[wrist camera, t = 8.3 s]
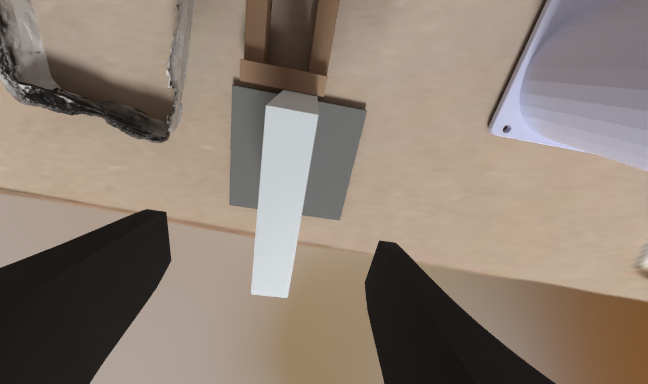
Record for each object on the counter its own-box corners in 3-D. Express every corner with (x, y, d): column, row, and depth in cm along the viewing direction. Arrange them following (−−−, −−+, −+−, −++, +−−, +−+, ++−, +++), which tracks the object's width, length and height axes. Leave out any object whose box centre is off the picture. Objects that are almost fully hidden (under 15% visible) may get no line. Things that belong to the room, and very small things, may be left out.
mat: (365, 109, 16) (366, 110, 16) (339, 217, 20) (339, 220, 19) (234, 84, 15) (232, 85, 15) (231, 202, 19) (229, 205, 18)
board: (317, 93, 15) (318, 115, 9) (296, 220, 19) (287, 297, 13) (286, 87, 15) (265, 105, 9) (272, 217, 19) (250, 294, 13)
